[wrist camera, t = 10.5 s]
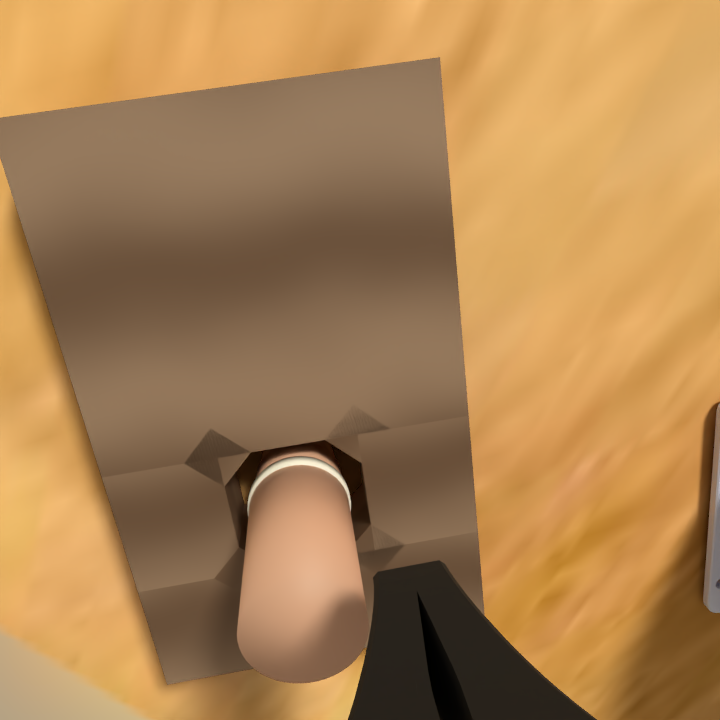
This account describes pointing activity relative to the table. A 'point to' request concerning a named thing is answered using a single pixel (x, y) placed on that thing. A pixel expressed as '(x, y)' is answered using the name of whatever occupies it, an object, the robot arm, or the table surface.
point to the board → (256, 321)
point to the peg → (301, 569)
